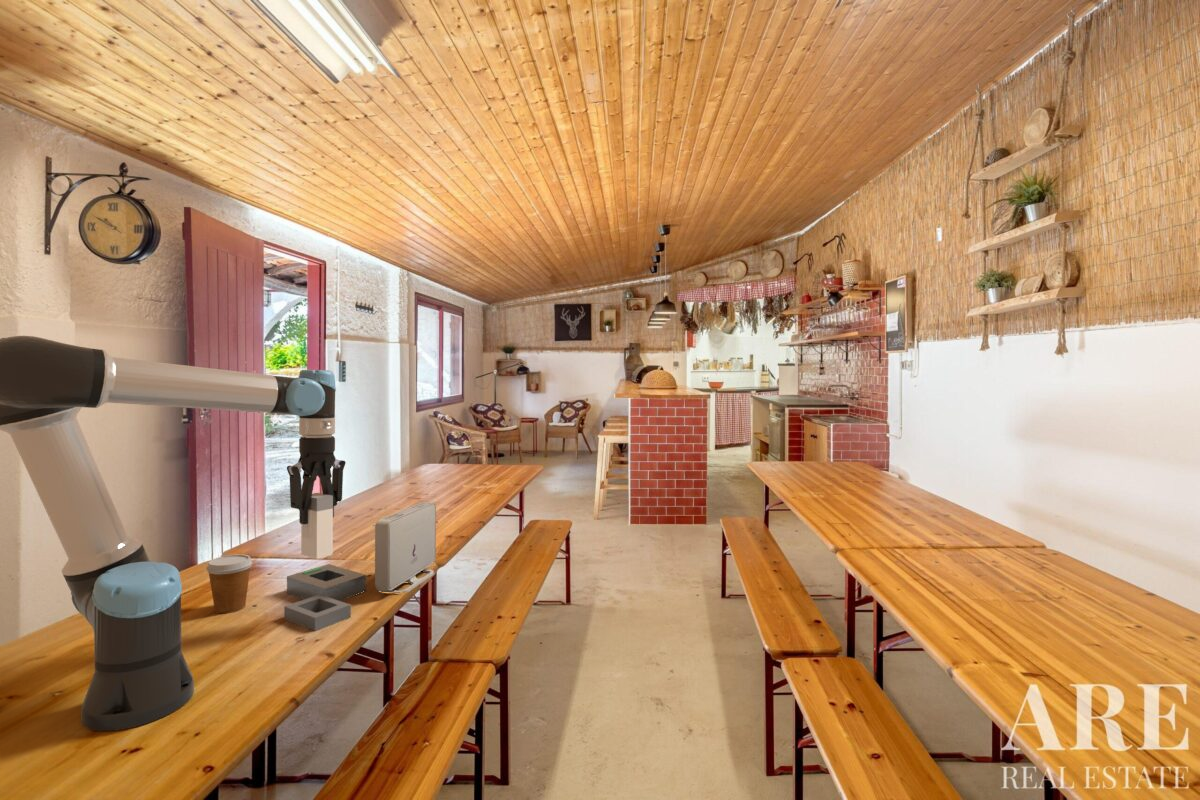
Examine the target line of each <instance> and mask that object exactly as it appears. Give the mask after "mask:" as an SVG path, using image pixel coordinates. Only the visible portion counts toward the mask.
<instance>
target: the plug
mask: <svg viewBox="0 0 1200 800" xmlns="http://www.w3.org/2000/svg"><path fill="white" fill-rule="evenodd" d="M309 509H310V510H313V537H312V538H310V539H309V538H305V537H302V535H303V524H300V525H301V526H300V528H301V531H300V532H301V533H300V534H301V535H300V538H301V539H300V541H301V543H300V544H301V545H300V546H301V548H300V549H301V552H300V555H301V556H304V557H309V558H312V559H315V560H318V559H322V558H327V557H329V556H333V555H334V554H333V551H334V546H333V545H334V544H333V541H334V535H333V534H334V530H333V529H334V517H333V496H332V495H327V494H323V492H322V493H321V492H312V497H311V502H310V507H309Z"/></svg>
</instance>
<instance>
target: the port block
mask: <svg viewBox="0 0 1200 800" xmlns="http://www.w3.org/2000/svg"><path fill="white" fill-rule="evenodd" d="M363 591H367V575H366V573H360V572H357V571H355V570H354V571H353V570H350V569H348V568H343V567H342V566H341V567H340V566H336V565H333V564H330V563H329V564H325V565H321V566H317V567H314V568H311V569H307V570H303V571H301V572H297V573H294V574H290V575H287V576H286V594H289V595H291V596H294V597H295V598H296V597H297V598H299V599H302V600H305V599H308V598H311V597H314V596H316V595H319V594H320V595H323V596H326V597H329V598H332V599H335V600H338V601H340V600H341V601H343V599H344V600H347V599H348V597H349V598H352V597H354V596H353V595H355V596H357V595H356V594H358V593H360V594H362V593H361V592H363ZM363 593H364V592H363ZM358 595H359V594H358ZM351 596H352V597H351Z"/></svg>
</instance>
